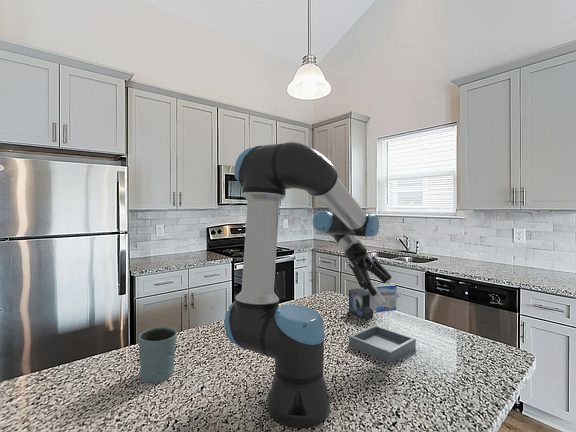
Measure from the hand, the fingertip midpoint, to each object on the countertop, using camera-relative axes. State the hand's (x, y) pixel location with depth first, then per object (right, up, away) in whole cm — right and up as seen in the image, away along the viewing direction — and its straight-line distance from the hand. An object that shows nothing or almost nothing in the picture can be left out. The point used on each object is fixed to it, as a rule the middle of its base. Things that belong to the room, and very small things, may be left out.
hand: (390, 300), depth 107 cm
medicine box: (-2, -4, +2) cm, 5 cm away
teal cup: (-71, -17, -17) cm, 75 cm away
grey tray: (-2, -17, +3) cm, 17 cm away
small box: (-2, -16, +36) cm, 39 cm away
